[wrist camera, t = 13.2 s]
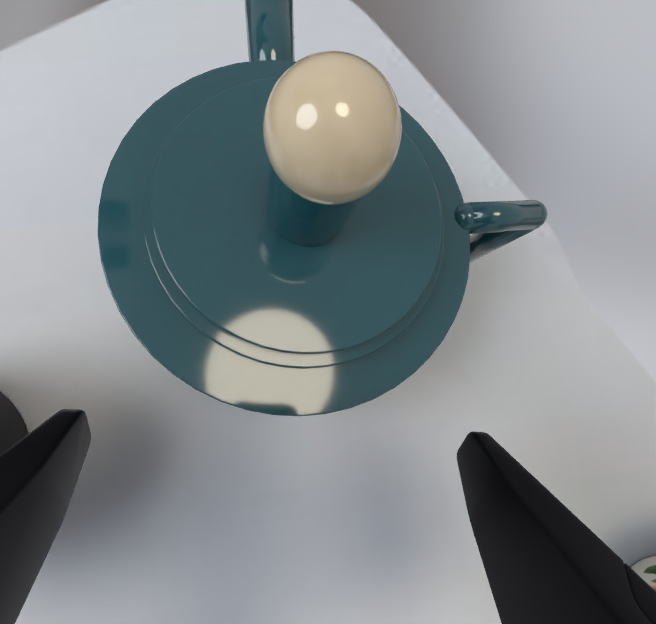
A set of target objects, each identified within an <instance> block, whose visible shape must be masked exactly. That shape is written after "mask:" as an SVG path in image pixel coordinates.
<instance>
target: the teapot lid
mask: <svg viewBox="0 0 656 624" xmlns="http://www.w3.org/2000/svg"><path fill="white" fill-rule="evenodd" d="M151 219H152V228H153V233H154V237H155V240H156V244H157V248H158V251H159V253H160V256H161V258H162V260H163V263H164V265H165V267H166V269H167V271H168V273H169V274H170V276H171V278H172V279H173V281H174V283H175V284H176V286H177V287H178V289H179V290H180V291H181V292H182V293H183V295H184V296H185V297H186V298H187V300H188V301H189V302H190V303H191V305H192V306H193V307H194V308H195V309H196V310H198V311H199V312H200V313H201V314H202V315H203V316H204V317H205V318H206V319H207V320H208V321H210V322H211V323H212V324H214V325H215V326H217V327H218V328H219V329H221V330H222V331H224V332H225V333H227V334H229V335H231V336H233V337H235V338H237V339H238V340H240V341H242V342H245V343H247V344H250V345H253V346H255V347H258V348H261V349H265V350H269V351H273V352H277V353H283V354H293V355H320V354H326V353H332V352H338V351H342V350H345V349H348V348H351V347H354V346H358V345H360V344H363V343H365V342H367V341H369V340H371V339H373V338H375V337H377V336H379V335H380V334H382V333H383V332H385V331H386V330H388V329H390V328H391V327H392V326H394V325H395V324H396V323H397V322H398V321H399V320H400V319H402V318H403V317H404V316H405V315H406V314H407V313H408V312H409V310H410V309H411V308H412V307H413V306H414V305H415V303H416V302H417V301H418V299H419V298H420V296H421V295H422V293H423V292H424V290H425V288H426V287H427V284H428V282H429V280H430V278H431V276H432V274H433V271H434V268H435V265H436V261H437V258H438V254H439V248H440V242H441V224H442V221H441V211H440V203H439V199H438V194H437V190H436V187H435V184H434V181H433V178H432V175H431V172H430V170H429V168H428V166H427V164H426V162H425V160H424V158H423V156H422V155H421V153H420V152H419V150H418V149H417V147H416V146H415V144H414V143H413V141H412V140H411V139H410V138H409V136H408V135H407V134H406V133H405V131H404V130H403V129H402V122H401V112H400V108H399V104H398V101H397V98H396V96H395V93H394V91H393V89H392V87H391V85H390V84H389V82H388V81H387V79H386V78H385V77H384V76H383V74H382V73H381V72H380V71H379V70H378V69H377V68H376V67H375V66H374V65H372V64H371V63H370V62H368V61H366V60H365V59H363V58H361V57H359V56H357V55H354V54H351V53H348V52H343V51H323V52H318V53H314V54H311V55H308V56H306V57H304V58H302V59H300V60H299V61H297V62H295V63H294V64H293V65H292V66H290V67H289V68H288V69H287V70H286V71H285V72H284V73H283V74H282V75H281V76H280V77H273V78H265V79H257V80H253V81H249V82H245V83H241V84H238V85H236V86H233V87H231V88H228V89H226V90H223V91H221V92H220V93H218V94H216V95H214V96H212V97H211V98H209V99H207V100H206V101H205V102H203V103H202V104H201V105H199V106H198V107H197V108H195V109H194V110H193V111H192V112H191V113H190V114H189V115H188V116H187V117H186V118H185V119H184V120H183V121H182V122H181V123H180V124H179V126H178V127H177V128H176V130H175V131H174V133H173V134H172V135H171V137H170V138H169V140H168V142H167V144H166V146H165V148H164V150H163V151H162V153H161V156H160V159H159V161H158V164H157V167H156V170H155V173H154V179H153V184H152V189H151Z"/></svg>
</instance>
